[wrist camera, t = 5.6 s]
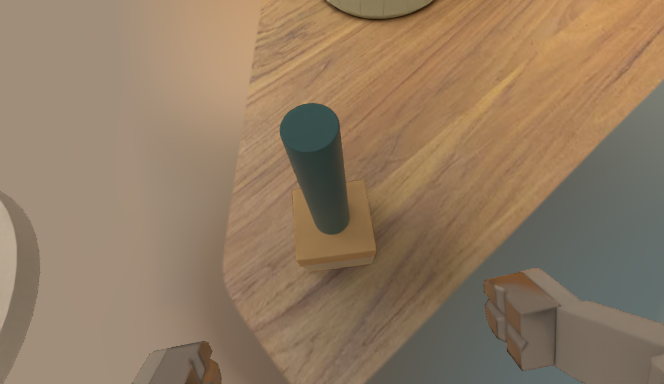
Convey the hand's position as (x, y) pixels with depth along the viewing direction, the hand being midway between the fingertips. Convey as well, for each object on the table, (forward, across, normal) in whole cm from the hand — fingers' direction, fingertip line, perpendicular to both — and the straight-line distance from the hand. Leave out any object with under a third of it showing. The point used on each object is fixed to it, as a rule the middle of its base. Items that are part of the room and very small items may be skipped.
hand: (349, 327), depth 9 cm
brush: (+15, 0, +5) cm, 16 cm away
